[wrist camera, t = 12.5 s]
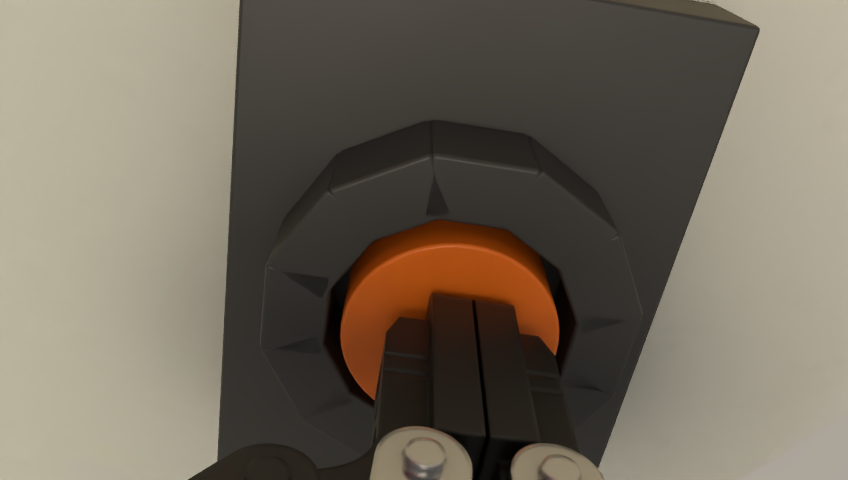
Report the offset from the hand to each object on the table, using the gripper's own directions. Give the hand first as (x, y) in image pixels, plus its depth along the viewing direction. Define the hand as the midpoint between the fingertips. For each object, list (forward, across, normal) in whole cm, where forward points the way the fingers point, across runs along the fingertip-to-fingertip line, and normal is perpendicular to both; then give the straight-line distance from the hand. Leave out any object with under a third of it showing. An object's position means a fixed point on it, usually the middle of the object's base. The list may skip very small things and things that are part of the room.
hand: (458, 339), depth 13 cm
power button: (+2, 0, 0) cm, 2 cm away
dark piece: (+4, 0, 0) cm, 4 cm away
